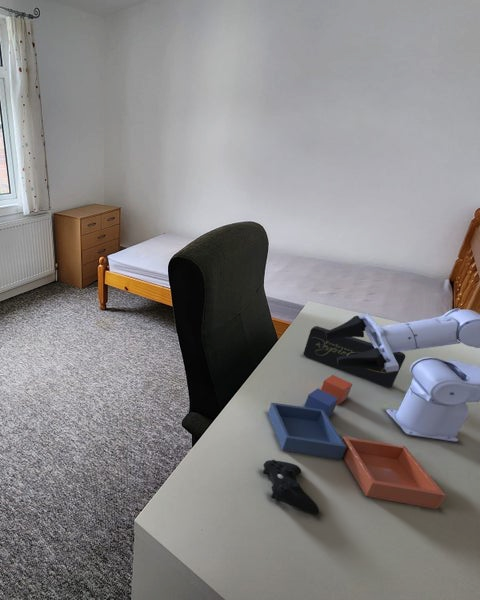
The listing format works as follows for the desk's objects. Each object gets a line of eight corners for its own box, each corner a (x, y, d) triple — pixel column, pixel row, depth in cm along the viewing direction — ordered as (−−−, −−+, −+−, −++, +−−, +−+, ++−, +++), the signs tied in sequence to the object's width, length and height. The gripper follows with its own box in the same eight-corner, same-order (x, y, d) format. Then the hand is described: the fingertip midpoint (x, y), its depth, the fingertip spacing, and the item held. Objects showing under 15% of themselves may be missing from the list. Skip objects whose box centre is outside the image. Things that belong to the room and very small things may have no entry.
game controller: (325, 513, 57) (293, 491, 56) (300, 526, 59) (269, 505, 59) (302, 466, 66) (275, 446, 65) (281, 478, 68) (254, 459, 67)
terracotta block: (346, 398, 86) (352, 383, 84) (338, 404, 83) (344, 390, 82) (327, 388, 89) (332, 374, 87) (318, 394, 87) (324, 380, 85)
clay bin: (398, 458, 69) (405, 445, 67) (437, 509, 59) (446, 495, 58) (338, 449, 71) (343, 436, 69) (365, 496, 61) (372, 482, 60)
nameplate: (302, 355, 103) (311, 327, 99) (304, 353, 105) (313, 325, 101) (390, 388, 89) (405, 356, 85) (392, 385, 90) (406, 353, 86)
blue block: (332, 413, 80) (338, 398, 79) (323, 421, 78) (329, 405, 76) (312, 402, 84) (317, 388, 82) (303, 409, 82) (308, 394, 80)
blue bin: (319, 421, 78) (323, 409, 77) (341, 459, 68) (346, 447, 67) (267, 414, 80) (271, 402, 79) (282, 450, 71) (286, 437, 69)
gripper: (393, 299, 74) (319, 313, 80) (429, 352, 64) (342, 363, 70) (392, 320, 78) (322, 332, 84) (426, 373, 68) (344, 382, 74)
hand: (331, 347), depth 77 cm, fingers open, 7 cm apart
